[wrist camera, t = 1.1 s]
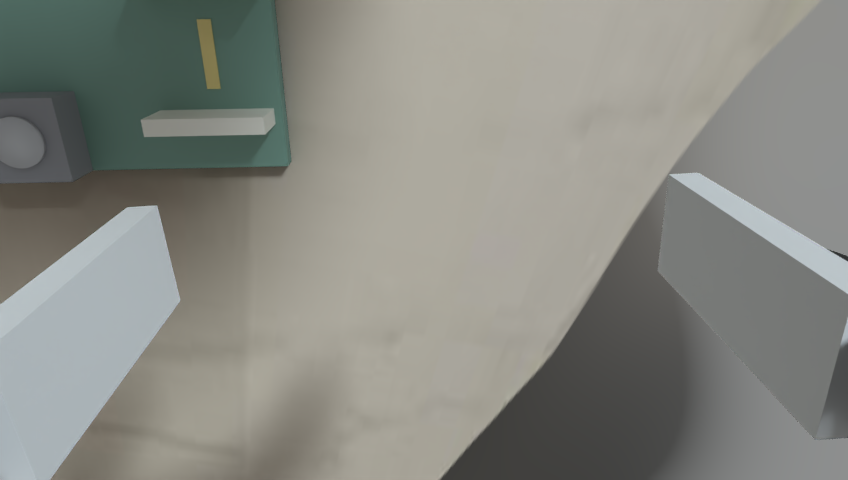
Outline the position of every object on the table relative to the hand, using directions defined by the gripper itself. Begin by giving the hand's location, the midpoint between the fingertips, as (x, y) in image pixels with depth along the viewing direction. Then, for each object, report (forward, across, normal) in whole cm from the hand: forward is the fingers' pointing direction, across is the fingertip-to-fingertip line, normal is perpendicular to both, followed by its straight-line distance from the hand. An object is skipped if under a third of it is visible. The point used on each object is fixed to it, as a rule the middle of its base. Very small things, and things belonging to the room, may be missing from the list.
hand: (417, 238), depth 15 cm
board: (+24, -19, +2) cm, 31 cm away
